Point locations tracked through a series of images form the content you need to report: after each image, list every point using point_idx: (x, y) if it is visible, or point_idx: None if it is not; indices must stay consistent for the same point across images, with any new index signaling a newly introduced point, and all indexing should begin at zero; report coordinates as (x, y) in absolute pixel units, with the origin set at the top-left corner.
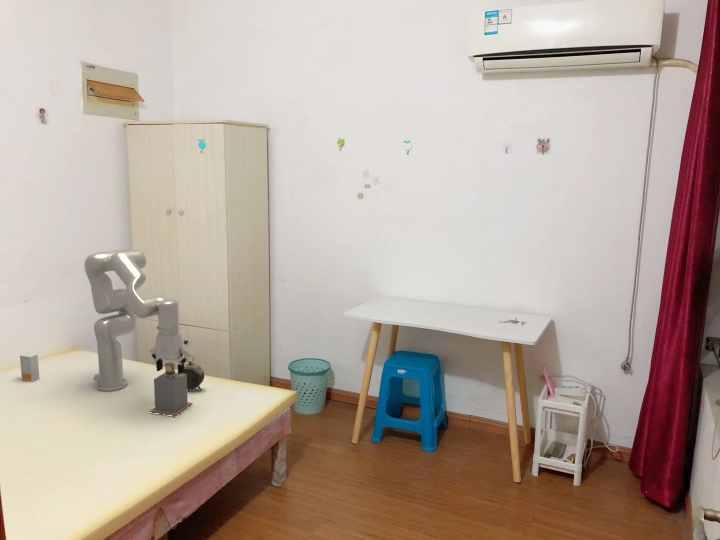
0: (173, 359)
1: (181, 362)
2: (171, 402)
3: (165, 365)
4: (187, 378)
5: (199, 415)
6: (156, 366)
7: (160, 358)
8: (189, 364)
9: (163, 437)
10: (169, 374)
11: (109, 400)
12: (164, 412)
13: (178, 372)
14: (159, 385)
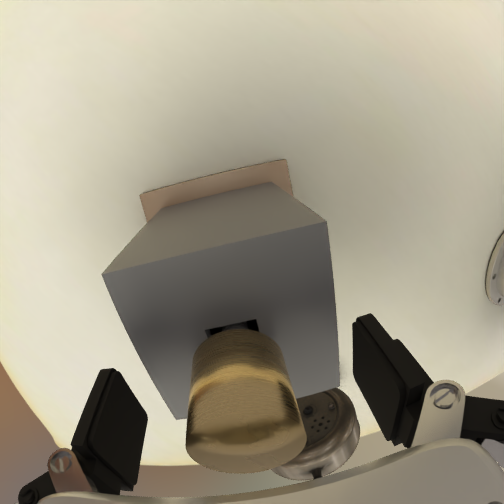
0: (67, 502)
1: (52, 473)
2: (168, 215)
3: (275, 406)
4: (303, 416)
5: (87, 262)
6: (403, 348)
7: (362, 470)
8: (317, 470)
9: (64, 53)
10: (209, 340)
11: (477, 180)
12: (207, 183)
13: (102, 379)
14: (256, 220)
